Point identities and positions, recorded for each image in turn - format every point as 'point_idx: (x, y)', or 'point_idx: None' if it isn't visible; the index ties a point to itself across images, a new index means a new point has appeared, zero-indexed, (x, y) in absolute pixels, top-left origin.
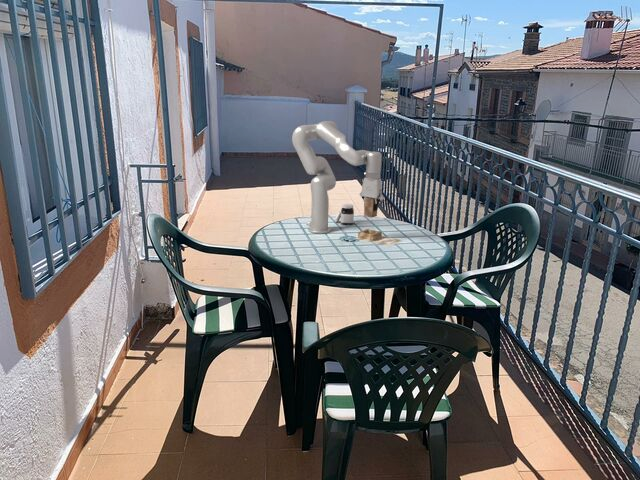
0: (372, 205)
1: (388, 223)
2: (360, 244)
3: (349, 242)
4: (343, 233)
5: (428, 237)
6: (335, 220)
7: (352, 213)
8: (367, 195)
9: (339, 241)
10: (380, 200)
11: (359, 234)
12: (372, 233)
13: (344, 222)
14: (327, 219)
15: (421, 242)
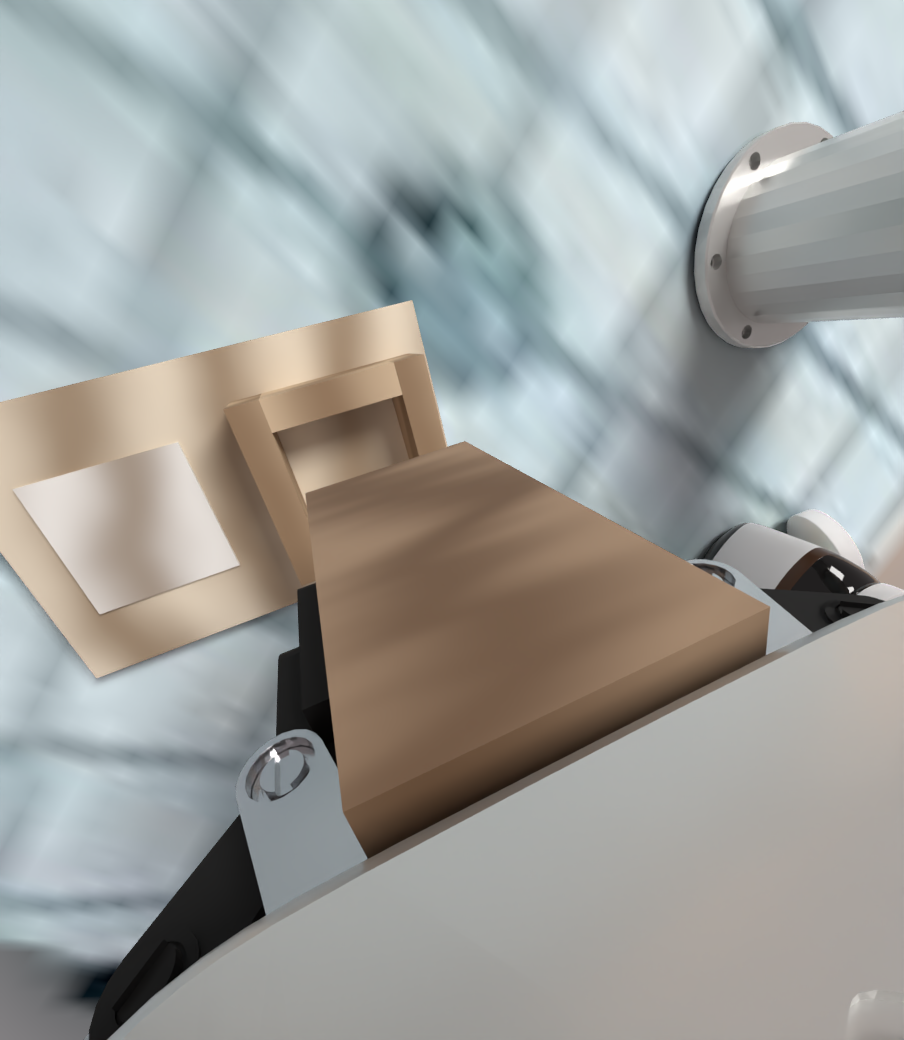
0: (325, 611)
1: None
2: (227, 225)
3: (357, 179)
4: (605, 376)
5: (158, 895)
6: (804, 512)
7: None
8: (788, 756)
9: (444, 110)
10: (96, 1032)
11: (400, 358)
12: None
13: (739, 531)
14: (829, 262)
15: (27, 803)
